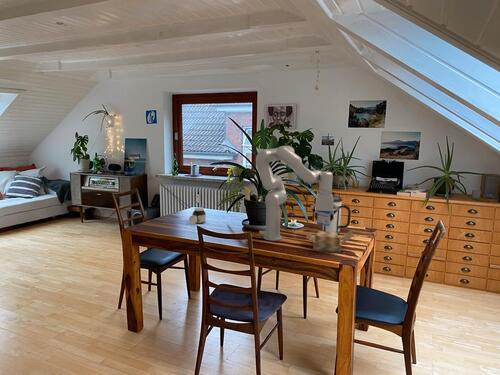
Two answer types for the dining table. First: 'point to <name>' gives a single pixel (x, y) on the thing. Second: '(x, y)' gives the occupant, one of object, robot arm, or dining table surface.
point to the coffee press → (337, 216)
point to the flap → (347, 236)
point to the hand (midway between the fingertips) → (323, 219)
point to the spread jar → (198, 216)
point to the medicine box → (324, 218)
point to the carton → (325, 241)
